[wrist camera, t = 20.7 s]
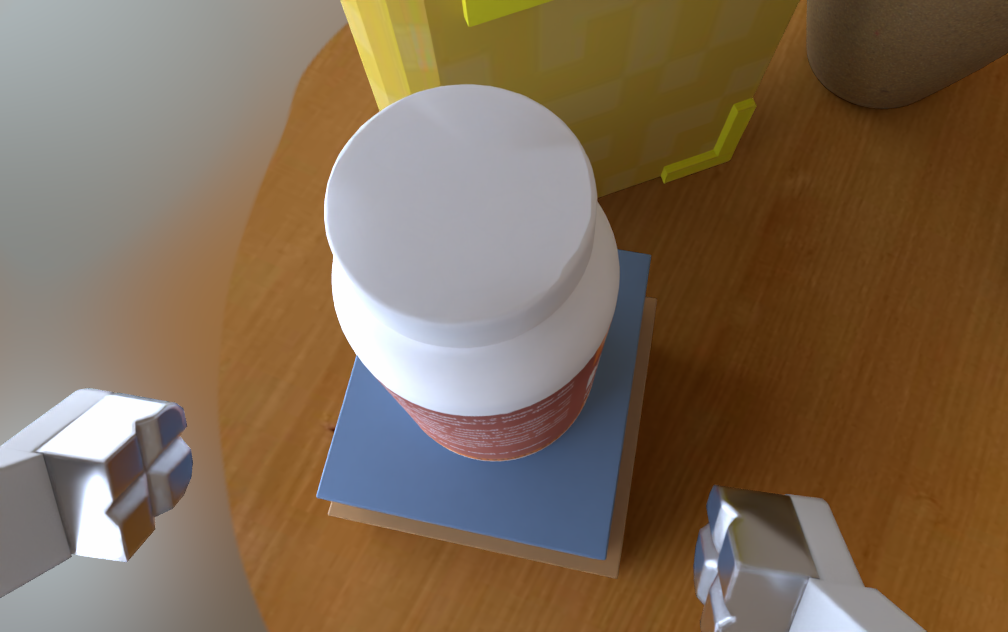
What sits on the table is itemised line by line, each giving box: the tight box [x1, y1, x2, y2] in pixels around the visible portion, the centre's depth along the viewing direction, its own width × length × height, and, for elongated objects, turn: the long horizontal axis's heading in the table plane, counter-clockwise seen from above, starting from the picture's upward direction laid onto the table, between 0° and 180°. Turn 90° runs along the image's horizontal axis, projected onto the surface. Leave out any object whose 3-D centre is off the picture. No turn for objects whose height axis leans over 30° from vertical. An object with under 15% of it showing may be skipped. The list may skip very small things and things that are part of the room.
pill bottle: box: [324, 84, 620, 461], centre depth 16 cm, size 6×6×11 cm
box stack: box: [316, 249, 657, 579], centre depth 27 cm, size 11×11×11 cm
